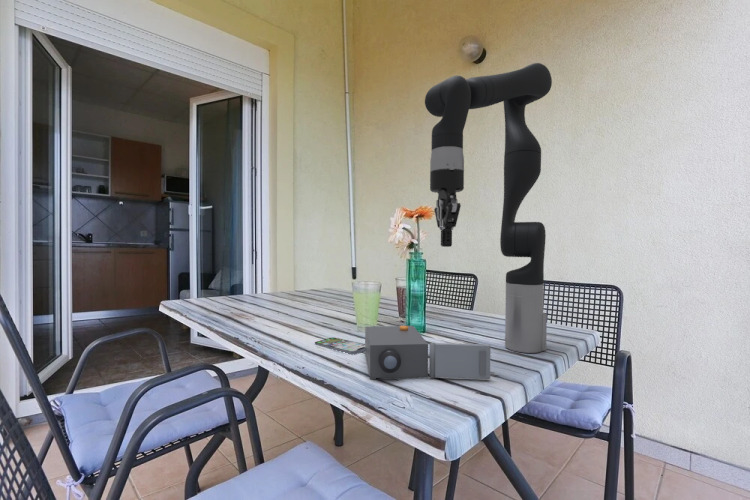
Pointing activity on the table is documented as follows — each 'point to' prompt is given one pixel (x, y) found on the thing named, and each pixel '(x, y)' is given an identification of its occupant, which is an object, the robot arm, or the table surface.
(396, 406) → the table surface
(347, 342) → the smartphone
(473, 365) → the side door
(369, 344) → the camera body
